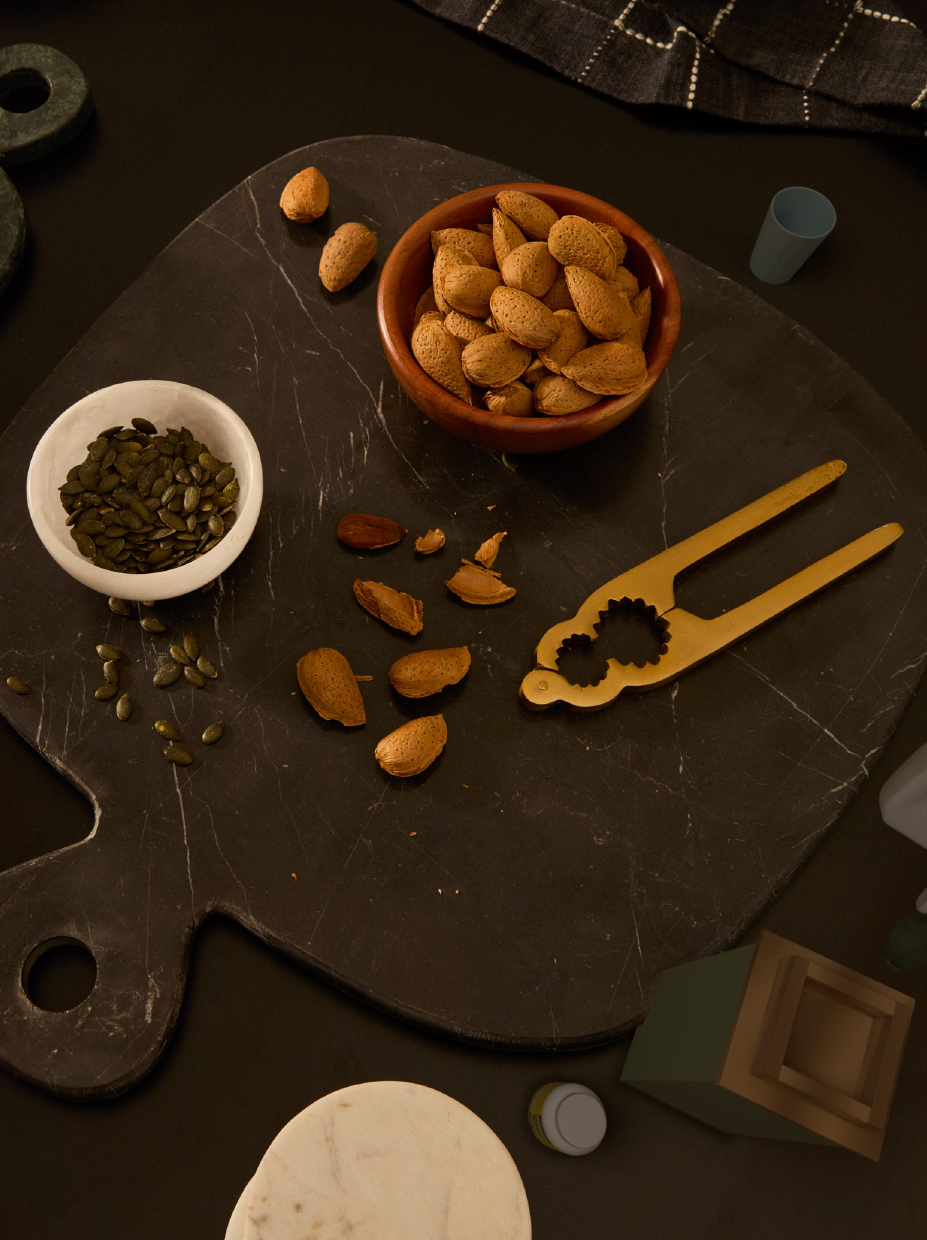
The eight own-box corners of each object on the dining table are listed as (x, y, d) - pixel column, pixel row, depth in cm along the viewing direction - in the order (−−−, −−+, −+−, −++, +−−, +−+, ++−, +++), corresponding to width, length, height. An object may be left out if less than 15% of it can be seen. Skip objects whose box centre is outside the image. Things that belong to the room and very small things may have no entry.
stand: (756, 1021, 106) (900, 1004, 81) (724, 1133, 102) (866, 1151, 77) (653, 972, 108) (764, 940, 82) (618, 1080, 104) (723, 1081, 78)
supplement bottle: (514, 1114, 102) (535, 1117, 93) (556, 1068, 104) (580, 1067, 95) (558, 1165, 101) (584, 1174, 92) (600, 1118, 102) (629, 1122, 93)
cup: (810, 289, 143) (846, 234, 134) (751, 296, 142) (783, 241, 133) (790, 241, 146) (823, 183, 137) (732, 247, 145) (762, 189, 136)
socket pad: (909, 1000, 81) (938, 996, 78) (871, 1162, 77) (900, 1166, 73) (759, 930, 83) (781, 923, 79) (714, 1085, 78) (735, 1085, 75)
